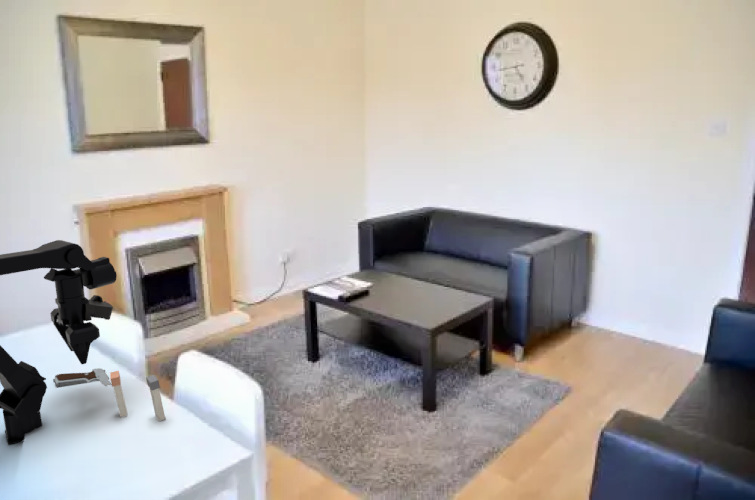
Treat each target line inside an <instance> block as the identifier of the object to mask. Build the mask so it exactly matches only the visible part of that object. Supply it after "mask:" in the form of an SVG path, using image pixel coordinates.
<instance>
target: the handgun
mask: <svg viewBox="0 0 755 500" xmlns="http://www.w3.org/2000/svg"><path fill="white" fill-rule="evenodd" d="M52 381H53V383H54V385H55V387H56V389H57V388H58V389H59V388H65V387H71V386H77V385H84V384H88V383H97V382H100V383H101V384H102V385H103V386H104V387H108V386H112V383H111V380H110V376H108V374H107V373H106V369H103V368H100V367H99V368H97V367H96V368H93V369H92V370H91V371H90V372H70V373H58V374H55V375H54V378H53V379H52Z"/></svg>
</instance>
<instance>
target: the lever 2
mask: <svg viewBox="0 0 755 500" xmlns="http://www.w3.org/2000/svg"><path fill="white" fill-rule="evenodd" d="M145 379H146V384H147V386H148V387H149V392H150V397H151V401H152V406H153V410H154V415H155V417H156V419H157V420H158V421H159V422H161V421H164V420H166V416H165V410H164V406H163V402H162V396H161V391H160V388H161V386H160V381H159V379H158V377H157V376H156V375H155V373H154V374H151V375H148V376H146V377H145Z"/></svg>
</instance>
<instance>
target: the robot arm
mask: <svg viewBox="0 0 755 500" xmlns="http://www.w3.org/2000/svg"><path fill="white" fill-rule="evenodd" d="M38 269H49V271H47V273H46V274H45V275H44V276H43V279H44V280H47V281H49V282H53V283H54V287H55V295H56V298H54V301H55V302H54V303H55V304H56V305H57V307H55V308H53V309H52V311H51V312H50V321H51V322H52V323H53V326H54V328H55V329H56V330H57V333H58V334H59V335H60V337H61V338H62V339H63V341H64V342H65V344H66V346H67V347H68V349H69V350H70V351H71V352H73V353H74V355H75V356H76V358H77V359H78V361H79V363H80V364H81V365H85V364H87V363H88V357H89V353H90V348H91V347H90V346H91V344H92V343H93V342H94V341H97V340H98V339H99V338H100V336H101V335H100V329H99V327H98V326H97V325H96V324H95V323H93V322H91V321H92V318H93V319H95V318H96V319H104V320H105V321H106V320H108V321H109V320H111V317H112V313H113V309H114V306H113V305H112V304H110V303H109V302H107V301H103V298H102V296H100V295H96V294H94V295H92V297H91V298H90V299H88V298H87V297H86V296H85V288H87V289H88V290H95V289H98V288H102V287H106V286H108V285H109V286H110V285H113V284H114V283H115V282H116V280H117V271H116V270H115V267H114V266H113V264H112V263H111V261H110V257H107V256H101V257H98V258H95V259H92V260H91V259H89V258H88V257H87V256H86V255H85V252H84V249H83V247H82V246H81V245H80V244H77V243H73V242H70V241H65V240H63V239H61V240H60V239H57V240H53V241H50V242H47V243H44V244H42V245H41V246H38V247H36V248H34V249H31V250H30V249H29V250H28V249H27V250H22V251H21V250H20V251H16V252H9V253H3V254H2V253H1V254H0V276H3V275H5V276H6V275H11V274H16V273H20V272H22V273H23V272H28V271H34V270H38ZM84 287H85V288H84ZM85 321H86V322H85ZM46 380H47V378H46V377H44V376H42V375H41V374H40V372H39V370H38V369H37V368H36V367H35V366H33V365H31V364H29V363H27V362H25V361H23V360H20V361H19V362H17V361H16V360H15V359H14V358H13V356H11V355H10V354H9V352H7V351H6V349H4V347H3V346H2V345H1V344H0V384H1V386H2V387H3V390H1V392H0V409H1V410H2V415H3V416H2V417H3V422H4V428H5V430H4V433H5V434H4V435H5V438H6V442H7V445H14V444H16V443H20V442H24V441H25V437H26V434H27V435H28V434H29V433H31V432H34V430H36V429H39V428H40V427H43V421H42V415H41V408H42V404H43V399H44V396H45V394H46V392H47V389H48V385H47V383H46V382H45V381H46Z"/></svg>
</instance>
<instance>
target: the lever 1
mask: <svg viewBox="0 0 755 500" xmlns="http://www.w3.org/2000/svg"><path fill="white" fill-rule="evenodd" d="M109 373H110V375H109V380H110V383H111V384H112V385H111V387H112V388H113V390H114V391H113V392H114V394H115V399H116V403H117V408H118V412H119V416H120V418H124V417H127V416H128V410H127V406H126V401H125V396H124V392H123V389H122V388H123V387H122V383H121V382H122V380H121V375H120V371H119V370H116V371H115V370H114V371H113V372H112V371H111V372H109Z"/></svg>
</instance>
